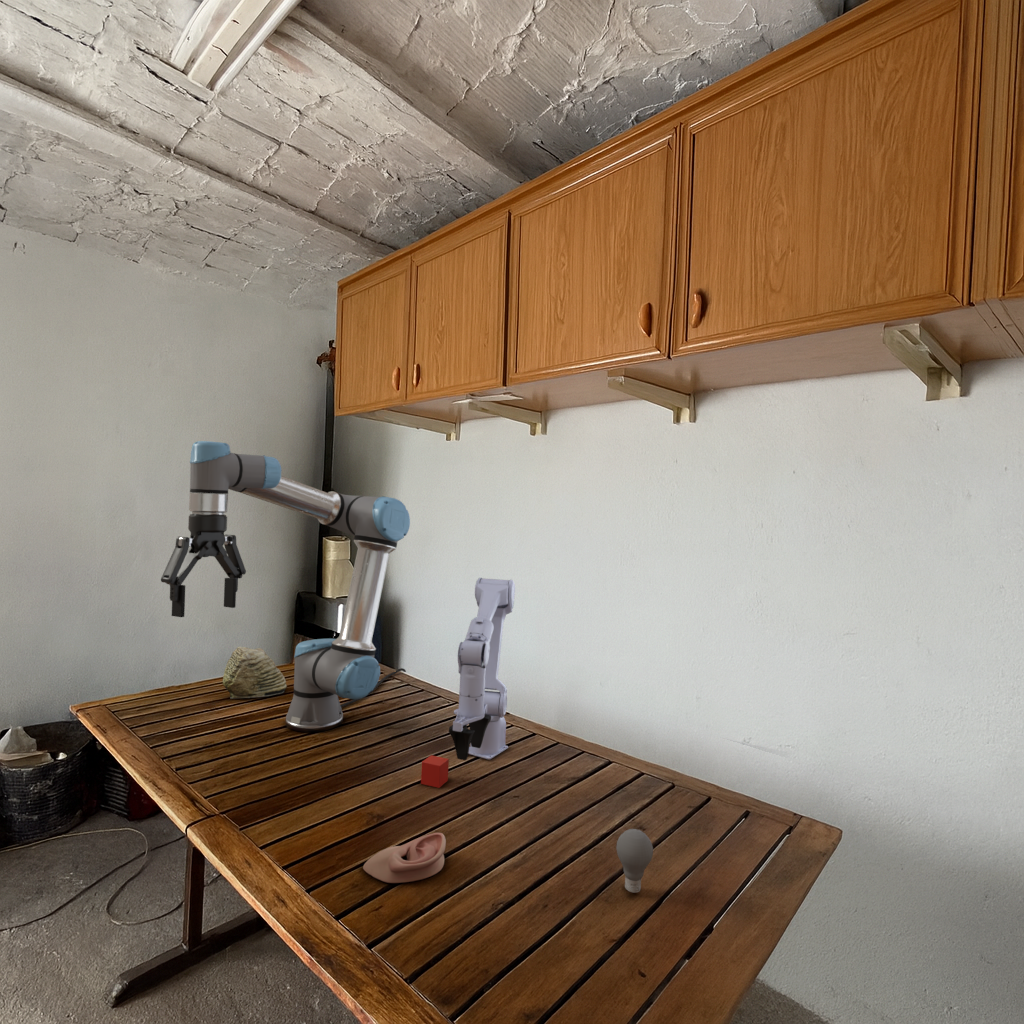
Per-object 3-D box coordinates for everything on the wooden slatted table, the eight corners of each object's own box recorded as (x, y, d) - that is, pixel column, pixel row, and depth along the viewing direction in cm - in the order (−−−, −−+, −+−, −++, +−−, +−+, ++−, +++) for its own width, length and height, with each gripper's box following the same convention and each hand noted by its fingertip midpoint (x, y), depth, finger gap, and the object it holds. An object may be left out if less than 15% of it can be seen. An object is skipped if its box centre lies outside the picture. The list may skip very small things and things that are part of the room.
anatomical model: (355, 854, 106) (383, 820, 117) (354, 877, 106) (382, 841, 117) (431, 866, 103) (452, 831, 114) (430, 890, 103) (451, 852, 114)
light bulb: (610, 879, 108) (613, 822, 108) (644, 879, 109) (647, 822, 109) (619, 902, 102) (622, 840, 102) (655, 901, 103) (658, 840, 103)
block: (430, 776, 146) (431, 755, 146) (447, 780, 144) (448, 758, 144) (420, 783, 142) (421, 761, 142) (439, 788, 140) (440, 765, 140)
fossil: (218, 695, 195) (220, 647, 195) (278, 685, 208) (279, 640, 207) (228, 703, 189) (230, 653, 188) (289, 692, 201) (290, 645, 201)
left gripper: (239, 512, 149) (236, 602, 150) (143, 512, 126) (139, 618, 127) (264, 514, 147) (260, 605, 147) (170, 514, 124) (167, 622, 124)
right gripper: (469, 682, 152) (466, 739, 152) (441, 699, 138) (438, 761, 139) (496, 687, 149) (493, 744, 150) (470, 704, 136) (468, 767, 136)
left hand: (204, 611), depth 137 cm, fingers open, 13 cm apart
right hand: (469, 752), depth 144 cm, fingers open, 7 cm apart
